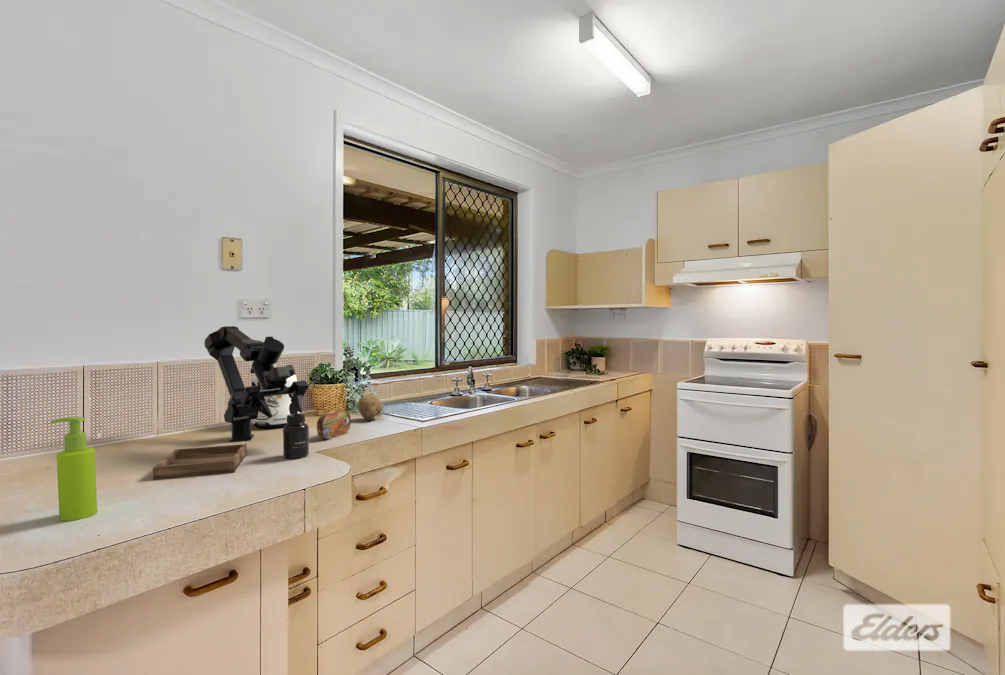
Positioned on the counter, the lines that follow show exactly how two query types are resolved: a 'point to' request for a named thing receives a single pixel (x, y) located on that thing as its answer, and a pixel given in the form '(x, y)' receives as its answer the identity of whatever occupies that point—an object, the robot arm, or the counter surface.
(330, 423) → the tin
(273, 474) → the counter surface
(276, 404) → the milk container
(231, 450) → the walnut tray
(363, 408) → the brown potato
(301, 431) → the supplement bottle
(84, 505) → the soap dispenser
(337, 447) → the counter surface
